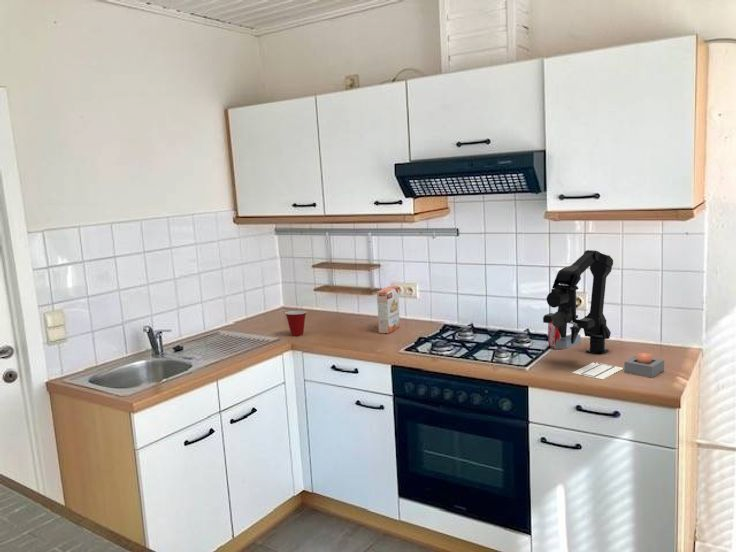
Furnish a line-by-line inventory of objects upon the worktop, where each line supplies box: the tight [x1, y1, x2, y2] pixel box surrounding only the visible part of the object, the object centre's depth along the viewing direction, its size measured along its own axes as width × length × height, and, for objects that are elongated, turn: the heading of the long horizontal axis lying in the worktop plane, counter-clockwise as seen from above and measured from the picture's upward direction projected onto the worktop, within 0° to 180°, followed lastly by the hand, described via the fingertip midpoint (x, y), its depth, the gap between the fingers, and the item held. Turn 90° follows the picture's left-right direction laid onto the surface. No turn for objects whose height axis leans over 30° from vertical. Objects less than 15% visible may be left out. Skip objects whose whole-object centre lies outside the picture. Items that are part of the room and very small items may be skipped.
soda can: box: [547, 322, 561, 350], centre depth 262 cm, size 7×7×12 cm
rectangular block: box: [556, 333, 581, 350], centre depth 238 cm, size 12×3×3 cm, turn 132°
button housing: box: [623, 355, 665, 378], centre depth 227 cm, size 10×10×4 cm
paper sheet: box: [571, 361, 624, 380], centre depth 231 cm, size 16×12×1 cm
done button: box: [636, 351, 653, 364], centre depth 226 cm, size 5×5×4 cm
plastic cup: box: [284, 310, 308, 337], centre depth 310 cm, size 11×11×12 cm
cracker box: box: [376, 286, 400, 334], centre depth 307 cm, size 14×6×21 cm, turn 154°
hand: (568, 342), depth 238 cm, fingers closed on rectangular block, 3 cm apart
